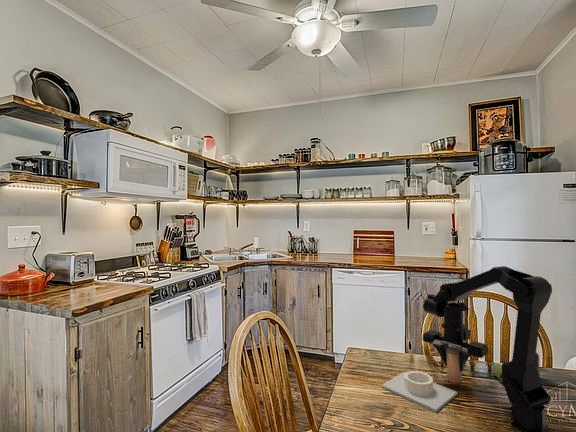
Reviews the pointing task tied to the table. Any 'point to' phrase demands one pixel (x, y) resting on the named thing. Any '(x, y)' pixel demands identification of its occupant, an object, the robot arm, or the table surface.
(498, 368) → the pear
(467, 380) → the table surface
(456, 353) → the plug
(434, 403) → the plate with ring collar
